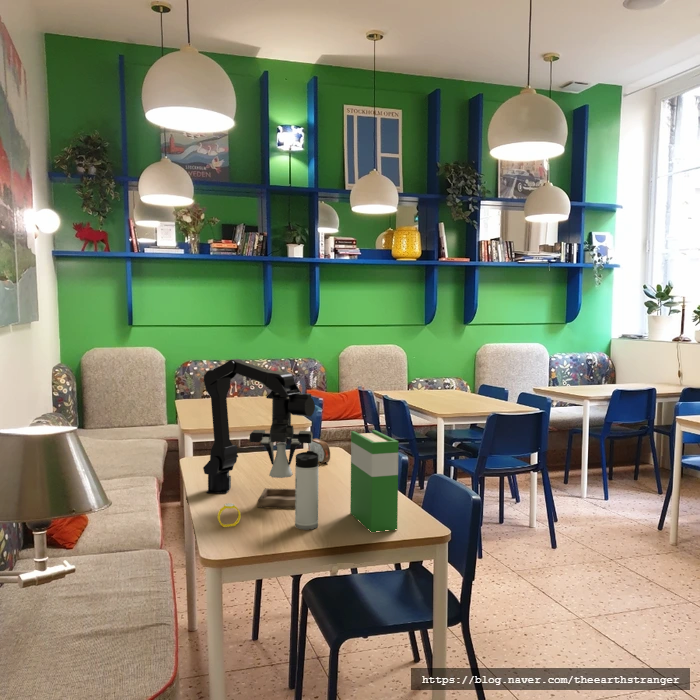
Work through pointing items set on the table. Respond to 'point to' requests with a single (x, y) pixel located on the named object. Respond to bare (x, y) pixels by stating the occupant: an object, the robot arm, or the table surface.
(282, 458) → the flask
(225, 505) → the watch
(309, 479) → the travel mug
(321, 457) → the tin
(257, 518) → the table surface
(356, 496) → the hardback book
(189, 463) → the table surface
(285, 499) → the tray
